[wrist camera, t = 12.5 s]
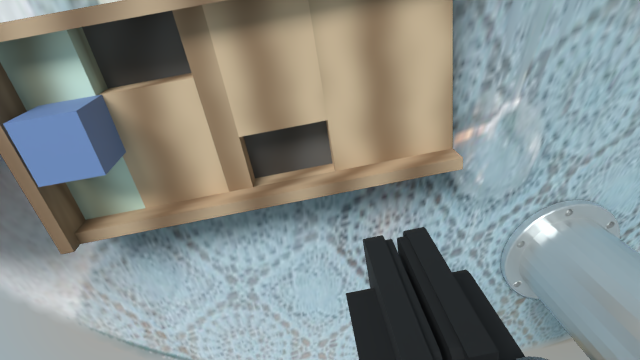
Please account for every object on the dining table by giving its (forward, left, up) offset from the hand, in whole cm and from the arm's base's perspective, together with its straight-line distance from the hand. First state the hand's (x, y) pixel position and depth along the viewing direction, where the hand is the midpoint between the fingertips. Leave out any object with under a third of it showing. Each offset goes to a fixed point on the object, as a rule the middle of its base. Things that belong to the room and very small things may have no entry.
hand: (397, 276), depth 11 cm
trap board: (+5, +3, -23) cm, 24 cm away
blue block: (+16, +8, -21) cm, 27 cm away
